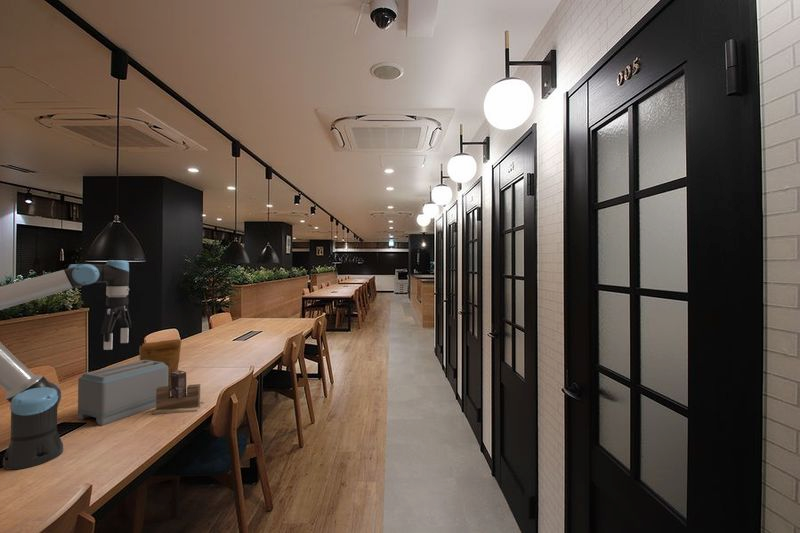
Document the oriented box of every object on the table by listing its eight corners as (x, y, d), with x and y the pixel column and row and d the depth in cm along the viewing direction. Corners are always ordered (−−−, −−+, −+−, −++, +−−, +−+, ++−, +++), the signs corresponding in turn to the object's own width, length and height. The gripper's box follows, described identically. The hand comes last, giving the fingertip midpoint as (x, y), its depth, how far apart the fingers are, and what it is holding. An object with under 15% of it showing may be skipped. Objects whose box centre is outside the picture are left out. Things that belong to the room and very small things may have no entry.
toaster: (176, 400, 185) (176, 360, 185) (101, 426, 154) (102, 379, 154) (152, 395, 192) (152, 356, 192) (76, 419, 161) (76, 373, 161)
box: (170, 397, 173) (170, 372, 173) (179, 394, 177) (180, 369, 177) (177, 399, 170) (177, 374, 170) (187, 396, 174) (187, 371, 174)
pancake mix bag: (181, 390, 200) (181, 339, 200) (138, 396, 190) (139, 343, 190) (180, 386, 205) (181, 337, 205) (139, 392, 195) (140, 341, 195)
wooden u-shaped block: (197, 411, 171) (197, 388, 171) (151, 414, 166) (152, 391, 167) (203, 403, 181) (203, 381, 181) (160, 406, 176) (160, 384, 176)
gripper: (112, 298, 143) (111, 352, 143) (140, 294, 167) (139, 340, 167) (90, 298, 141) (88, 353, 141) (122, 294, 165) (121, 340, 165)
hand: (116, 346), depth 154 cm, fingers open, 13 cm apart
